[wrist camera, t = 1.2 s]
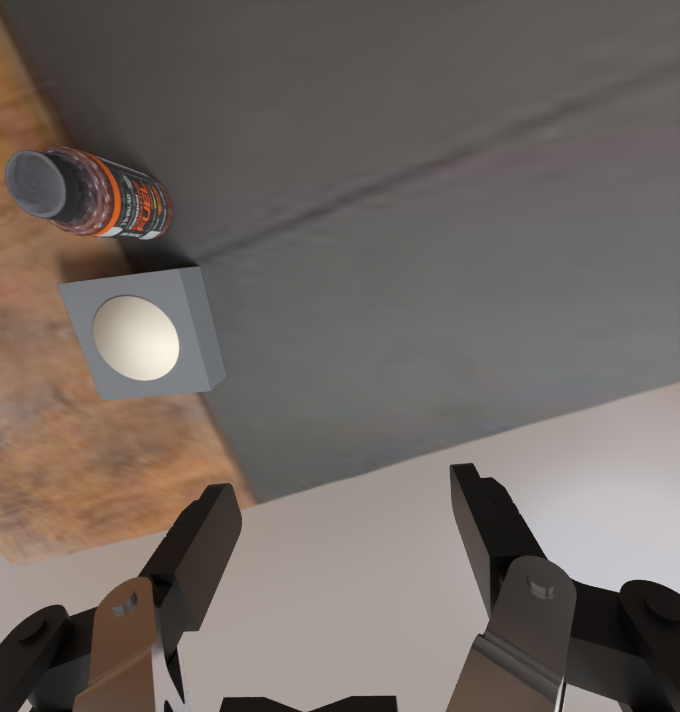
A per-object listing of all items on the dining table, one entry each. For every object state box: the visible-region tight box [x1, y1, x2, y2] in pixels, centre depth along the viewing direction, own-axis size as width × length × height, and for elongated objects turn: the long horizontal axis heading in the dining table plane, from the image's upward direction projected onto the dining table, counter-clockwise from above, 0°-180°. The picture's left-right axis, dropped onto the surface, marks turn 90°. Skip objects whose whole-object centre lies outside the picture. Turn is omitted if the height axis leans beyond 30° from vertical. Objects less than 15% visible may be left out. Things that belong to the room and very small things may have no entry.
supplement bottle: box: [5, 146, 172, 240], centre depth 26 cm, size 6×6×11 cm
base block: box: [57, 266, 226, 401], centre depth 33 cm, size 12×12×4 cm
